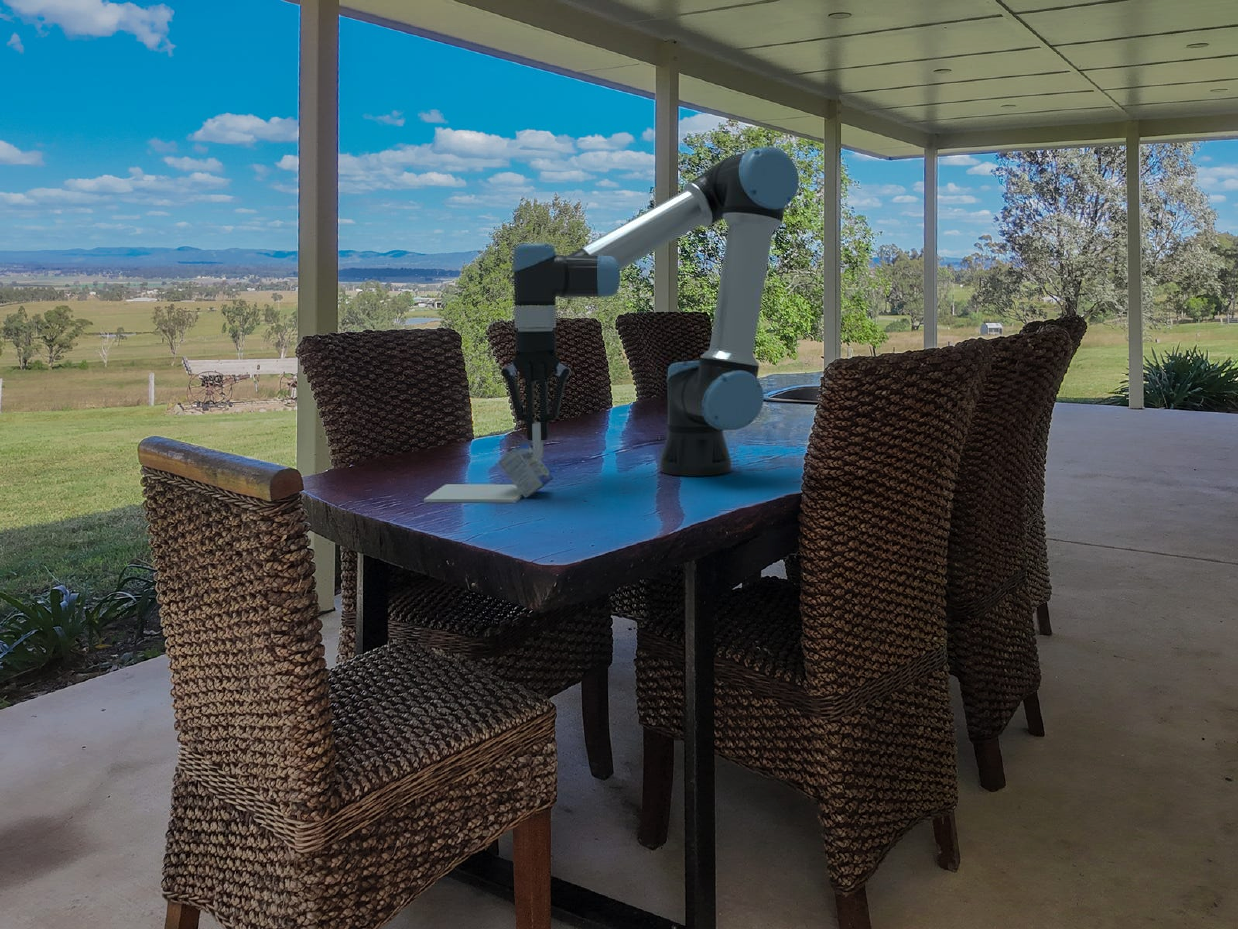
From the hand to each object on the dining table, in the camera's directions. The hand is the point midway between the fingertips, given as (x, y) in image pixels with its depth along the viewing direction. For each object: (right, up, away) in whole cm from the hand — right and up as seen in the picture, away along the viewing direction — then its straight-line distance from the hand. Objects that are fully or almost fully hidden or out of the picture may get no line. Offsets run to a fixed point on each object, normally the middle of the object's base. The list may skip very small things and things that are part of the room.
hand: (538, 457), depth 189 cm
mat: (-11, -7, +2) cm, 13 cm away
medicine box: (0, -6, +1) cm, 6 cm away
